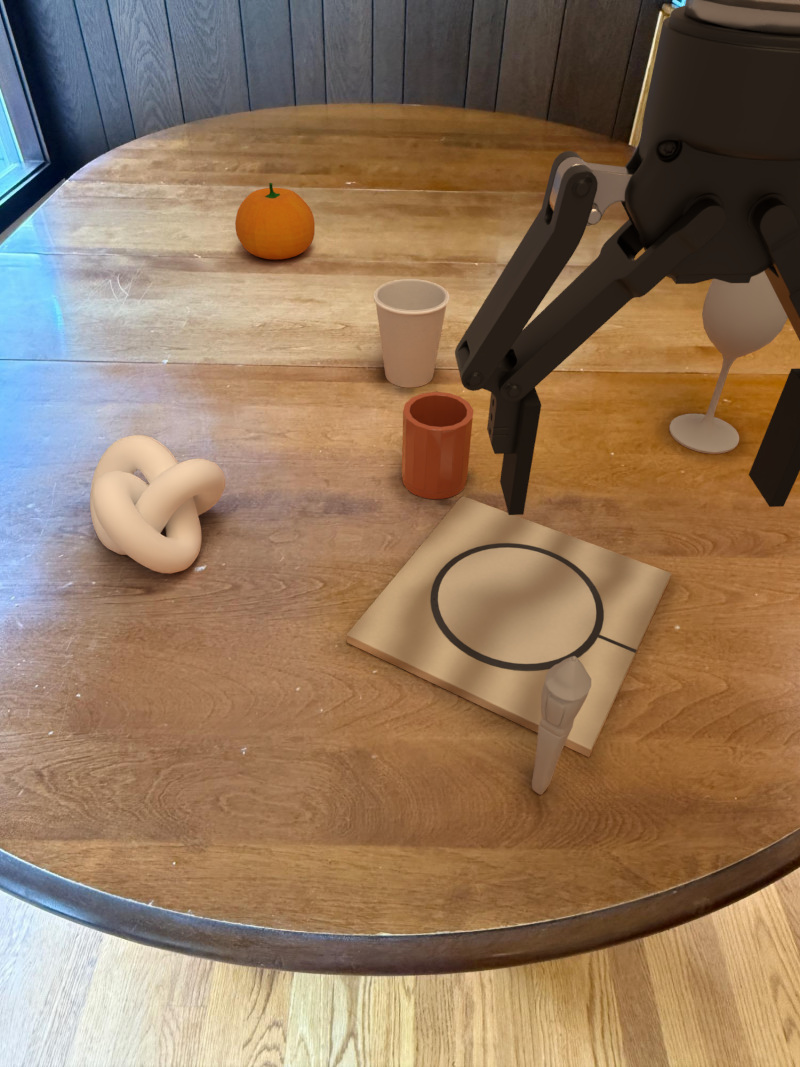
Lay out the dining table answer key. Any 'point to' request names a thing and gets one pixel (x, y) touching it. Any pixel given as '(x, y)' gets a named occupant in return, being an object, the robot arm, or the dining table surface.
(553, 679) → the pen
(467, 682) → the drawing board
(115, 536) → the beige decorative knot
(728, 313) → the wineglass
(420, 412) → the pen pot
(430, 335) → the dixie cup
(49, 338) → the dining table surface
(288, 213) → the fruit
